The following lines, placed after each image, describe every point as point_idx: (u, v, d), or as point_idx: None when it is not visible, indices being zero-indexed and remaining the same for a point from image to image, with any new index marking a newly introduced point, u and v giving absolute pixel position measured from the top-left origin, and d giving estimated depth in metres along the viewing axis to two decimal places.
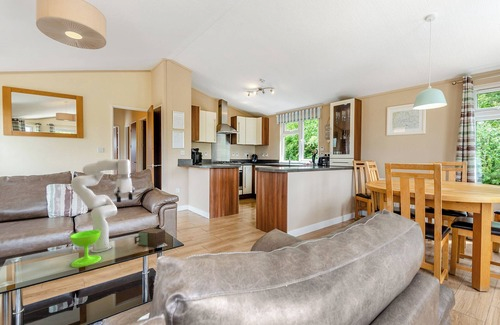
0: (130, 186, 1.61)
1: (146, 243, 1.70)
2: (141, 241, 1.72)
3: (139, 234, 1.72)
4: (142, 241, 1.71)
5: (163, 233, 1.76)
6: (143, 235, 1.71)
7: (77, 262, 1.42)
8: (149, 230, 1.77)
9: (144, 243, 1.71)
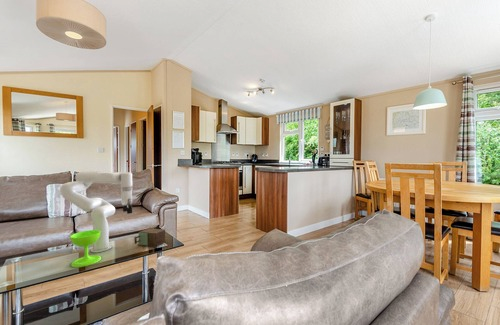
0: None
1: (146, 243, 1.70)
2: (141, 241, 1.72)
3: (139, 234, 1.72)
4: (142, 241, 1.71)
5: (163, 233, 1.76)
6: (143, 235, 1.71)
7: (77, 262, 1.42)
8: (149, 230, 1.77)
9: (144, 243, 1.71)
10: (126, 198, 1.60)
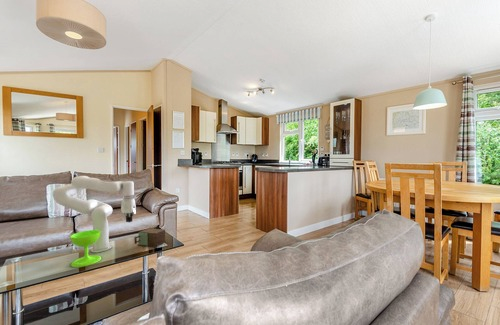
0: None
1: (146, 243, 1.70)
2: (141, 241, 1.72)
3: (139, 234, 1.72)
4: (142, 241, 1.71)
5: (163, 233, 1.76)
6: (143, 235, 1.71)
7: (77, 262, 1.42)
8: (149, 230, 1.77)
9: (144, 243, 1.71)
10: (131, 206, 1.66)
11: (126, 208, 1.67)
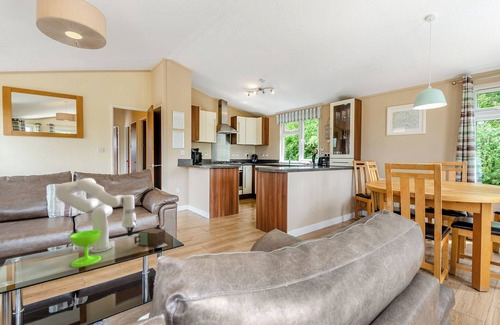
0: None
1: (146, 243, 1.70)
2: (141, 241, 1.72)
3: (139, 234, 1.72)
4: (142, 241, 1.71)
5: (163, 233, 1.76)
6: (143, 235, 1.71)
7: (77, 262, 1.42)
8: (149, 230, 1.77)
9: (144, 243, 1.71)
10: (132, 220, 1.67)
11: (127, 222, 1.67)
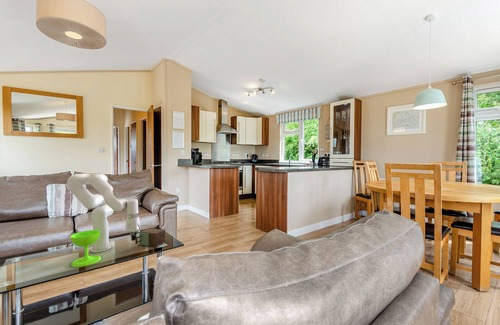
0: None
1: (147, 243, 1.70)
2: (142, 241, 1.71)
3: (140, 234, 1.72)
4: (143, 241, 1.71)
5: (163, 233, 1.76)
6: (144, 235, 1.71)
7: (77, 262, 1.42)
8: (149, 230, 1.77)
9: (145, 243, 1.70)
10: (136, 225, 1.65)
11: (131, 227, 1.66)
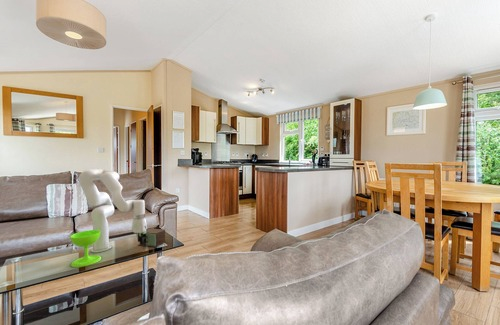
0: None
1: (154, 244, 1.68)
2: (149, 242, 1.69)
3: (146, 235, 1.70)
4: (150, 242, 1.69)
5: (163, 233, 1.76)
6: (151, 236, 1.69)
7: (77, 262, 1.42)
8: (149, 230, 1.77)
9: (152, 244, 1.68)
10: (143, 226, 1.63)
11: (137, 228, 1.64)
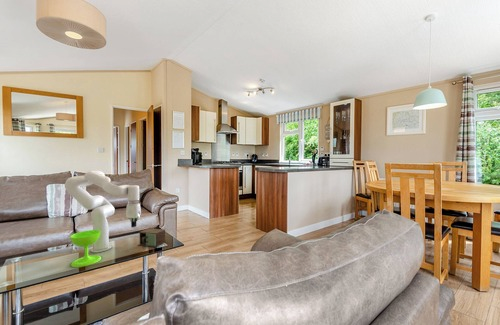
0: None
1: (154, 244, 1.68)
2: (149, 242, 1.69)
3: (146, 235, 1.70)
4: (150, 242, 1.69)
5: (163, 233, 1.76)
6: (151, 236, 1.69)
7: (77, 262, 1.42)
8: (149, 230, 1.77)
9: (152, 244, 1.68)
10: (137, 211, 1.63)
11: (131, 213, 1.63)
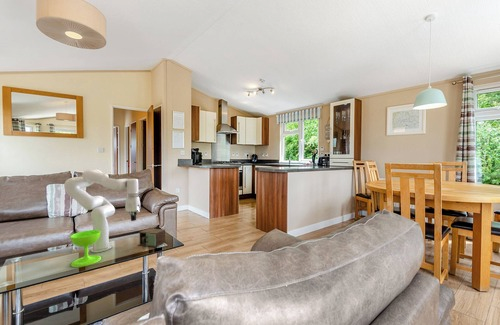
0: None
1: (154, 244, 1.68)
2: (149, 242, 1.69)
3: (146, 235, 1.70)
4: (150, 242, 1.69)
5: (163, 233, 1.76)
6: (151, 236, 1.69)
7: (77, 262, 1.42)
8: (149, 230, 1.77)
9: (152, 244, 1.68)
10: (136, 204, 1.62)
11: (130, 206, 1.62)
